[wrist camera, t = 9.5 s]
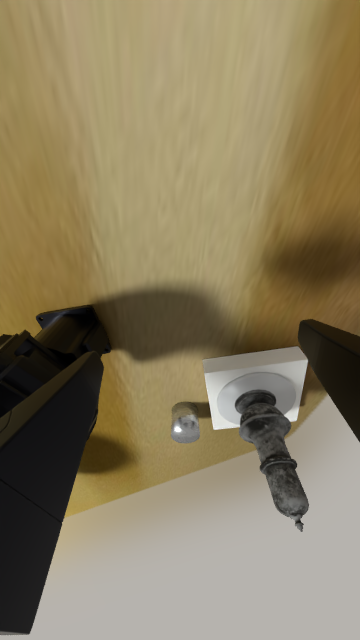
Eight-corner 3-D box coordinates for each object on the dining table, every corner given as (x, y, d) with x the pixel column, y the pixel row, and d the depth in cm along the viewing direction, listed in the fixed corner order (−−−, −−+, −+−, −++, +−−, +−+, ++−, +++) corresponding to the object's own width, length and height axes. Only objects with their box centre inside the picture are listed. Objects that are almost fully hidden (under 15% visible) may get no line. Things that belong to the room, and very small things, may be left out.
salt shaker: (265, 419, 29) (313, 543, 19) (225, 413, 28) (252, 540, 18) (286, 391, 26) (357, 521, 16) (242, 384, 25) (286, 516, 15)
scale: (211, 417, 34) (214, 436, 31) (202, 359, 27) (204, 377, 24) (288, 408, 32) (298, 427, 30) (298, 346, 26) (311, 363, 23)
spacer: (174, 419, 34) (174, 444, 30) (169, 403, 32) (168, 428, 28) (199, 416, 33) (201, 441, 30) (195, 400, 31) (197, 425, 28)
